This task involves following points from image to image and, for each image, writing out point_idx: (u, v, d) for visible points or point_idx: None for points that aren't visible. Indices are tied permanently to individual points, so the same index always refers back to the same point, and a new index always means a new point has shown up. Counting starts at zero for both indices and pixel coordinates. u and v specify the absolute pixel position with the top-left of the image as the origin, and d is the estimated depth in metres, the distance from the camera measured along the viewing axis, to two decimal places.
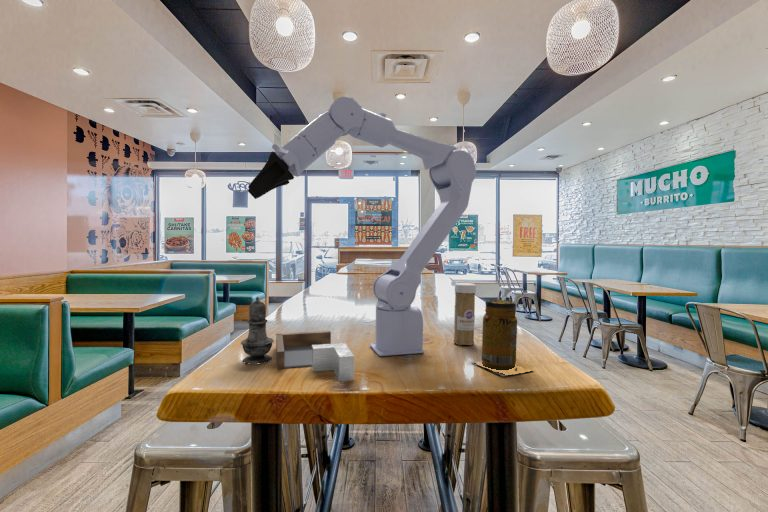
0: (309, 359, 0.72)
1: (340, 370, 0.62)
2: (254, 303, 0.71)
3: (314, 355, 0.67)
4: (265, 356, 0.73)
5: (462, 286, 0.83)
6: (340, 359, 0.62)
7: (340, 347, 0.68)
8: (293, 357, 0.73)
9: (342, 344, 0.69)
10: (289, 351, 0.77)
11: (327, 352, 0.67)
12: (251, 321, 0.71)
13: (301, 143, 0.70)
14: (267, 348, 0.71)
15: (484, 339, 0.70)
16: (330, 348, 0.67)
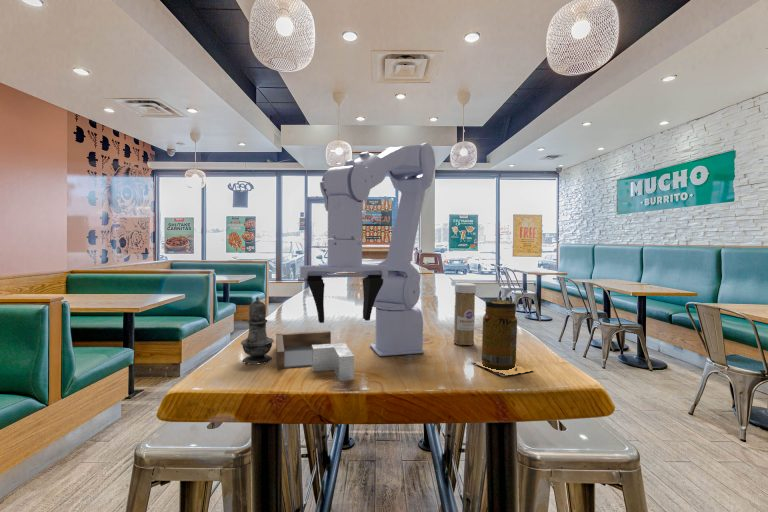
0: (309, 359, 0.72)
1: (340, 370, 0.62)
2: (254, 303, 0.71)
3: (314, 355, 0.67)
4: (265, 356, 0.73)
5: (462, 286, 0.83)
6: (340, 359, 0.62)
7: (340, 347, 0.68)
8: (293, 357, 0.73)
9: (342, 344, 0.69)
10: (289, 351, 0.77)
11: (327, 352, 0.67)
12: (251, 321, 0.71)
13: (361, 245, 0.64)
14: (267, 348, 0.71)
15: (484, 339, 0.70)
16: (330, 348, 0.67)
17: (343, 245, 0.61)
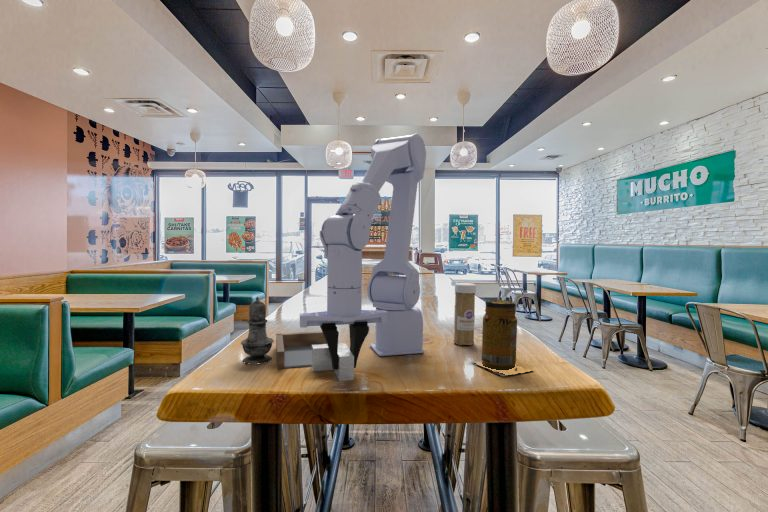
0: (309, 359, 0.72)
1: (340, 370, 0.62)
2: (254, 303, 0.71)
3: (314, 355, 0.67)
4: (265, 356, 0.73)
5: (462, 286, 0.83)
6: (340, 359, 0.62)
7: (340, 347, 0.68)
8: (293, 357, 0.73)
9: (342, 344, 0.69)
10: (289, 351, 0.77)
11: (327, 352, 0.67)
12: (251, 321, 0.71)
13: (361, 293, 0.64)
14: (267, 348, 0.71)
15: (484, 339, 0.70)
16: None
17: (343, 295, 0.61)
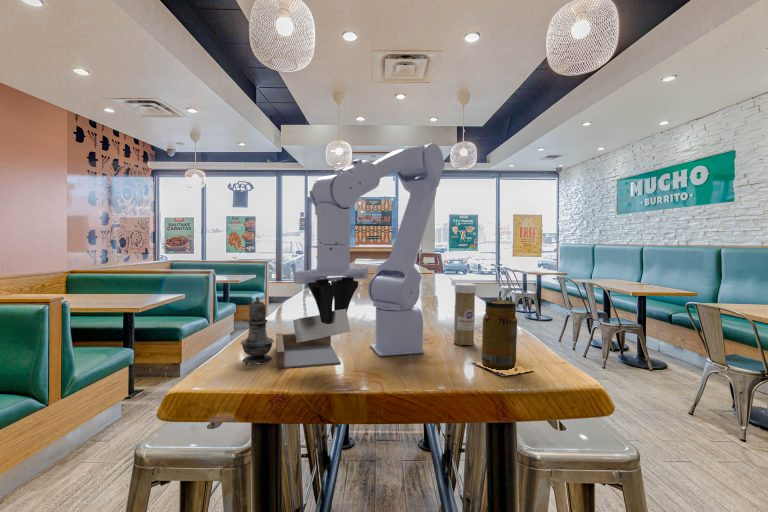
0: (309, 359, 0.72)
1: (337, 323, 0.65)
2: (254, 303, 0.71)
3: (301, 324, 0.67)
4: (265, 356, 0.73)
5: (462, 286, 0.83)
6: (336, 312, 0.65)
7: None
8: (293, 357, 0.73)
9: None
10: (289, 351, 0.77)
11: (312, 321, 0.68)
12: (251, 321, 0.71)
13: None
14: (267, 348, 0.71)
15: (484, 339, 0.70)
16: (314, 317, 0.69)
17: (339, 250, 0.65)
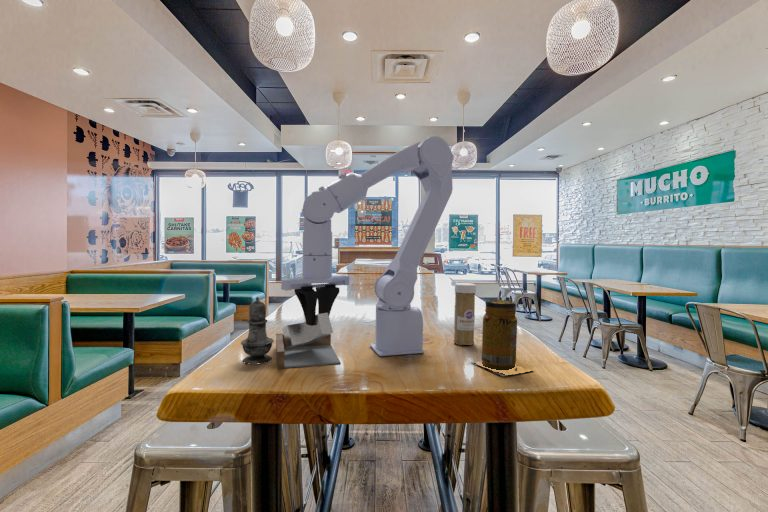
0: (309, 359, 0.72)
1: (321, 325, 0.73)
2: (254, 303, 0.71)
3: (289, 330, 0.75)
4: (265, 356, 0.73)
5: (462, 286, 0.83)
6: (318, 316, 0.74)
7: None
8: (293, 357, 0.73)
9: None
10: (289, 351, 0.77)
11: (299, 327, 0.77)
12: (251, 321, 0.71)
13: None
14: (267, 348, 0.71)
15: (484, 339, 0.70)
16: (301, 323, 0.77)
17: (322, 260, 0.73)
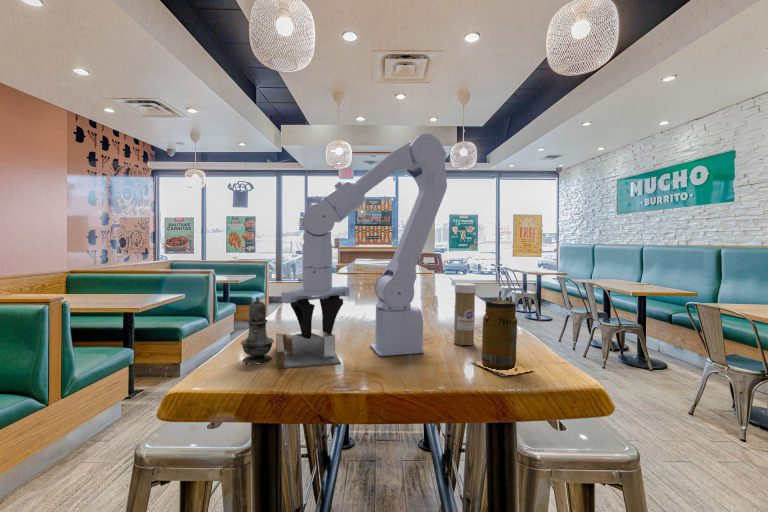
0: (309, 359, 0.72)
1: (325, 348, 0.72)
2: (254, 303, 0.71)
3: (293, 341, 0.74)
4: (265, 356, 0.73)
5: (462, 286, 0.83)
6: (325, 339, 0.72)
7: (313, 331, 0.77)
8: (293, 357, 0.73)
9: (312, 329, 0.79)
10: None
11: (303, 337, 0.76)
12: (251, 321, 0.71)
13: None
14: (267, 348, 0.71)
15: (484, 339, 0.70)
16: None
17: (322, 273, 0.73)
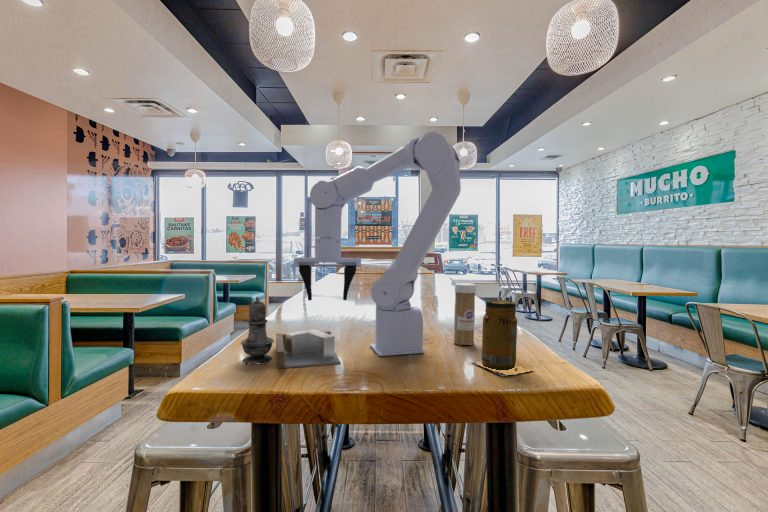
0: (309, 359, 0.72)
1: (324, 349, 0.72)
2: (254, 303, 0.71)
3: (292, 341, 0.74)
4: (265, 356, 0.73)
5: (462, 286, 0.83)
6: (324, 340, 0.72)
7: (313, 331, 0.77)
8: (293, 357, 0.73)
9: (312, 329, 0.79)
10: None
11: (303, 337, 0.76)
12: (251, 321, 0.71)
13: (340, 243, 0.84)
14: (267, 348, 0.71)
15: (484, 339, 0.70)
16: (305, 333, 0.76)
17: (324, 242, 0.82)
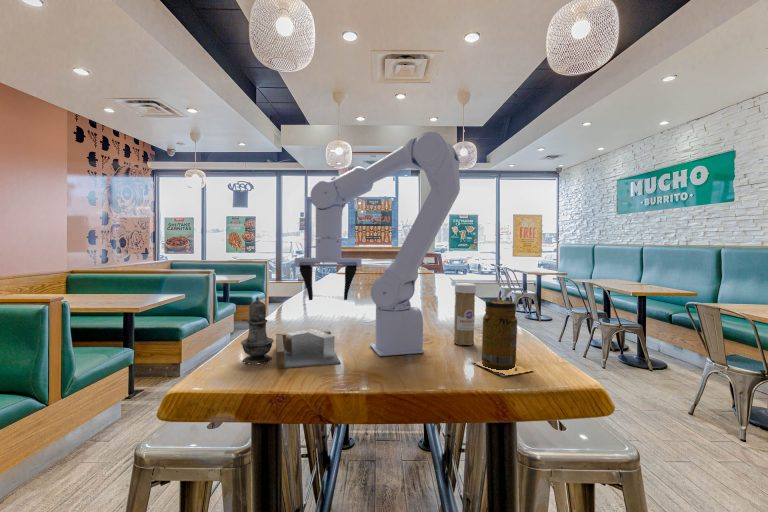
0: (309, 359, 0.72)
1: (324, 349, 0.72)
2: (254, 303, 0.71)
3: (292, 341, 0.74)
4: (265, 356, 0.73)
5: (462, 286, 0.83)
6: (324, 340, 0.72)
7: (313, 331, 0.77)
8: (293, 357, 0.73)
9: (312, 329, 0.79)
10: None
11: (303, 337, 0.76)
12: (251, 321, 0.71)
13: (340, 243, 0.85)
14: (267, 348, 0.71)
15: (484, 339, 0.70)
16: (305, 333, 0.76)
17: (324, 242, 0.82)
